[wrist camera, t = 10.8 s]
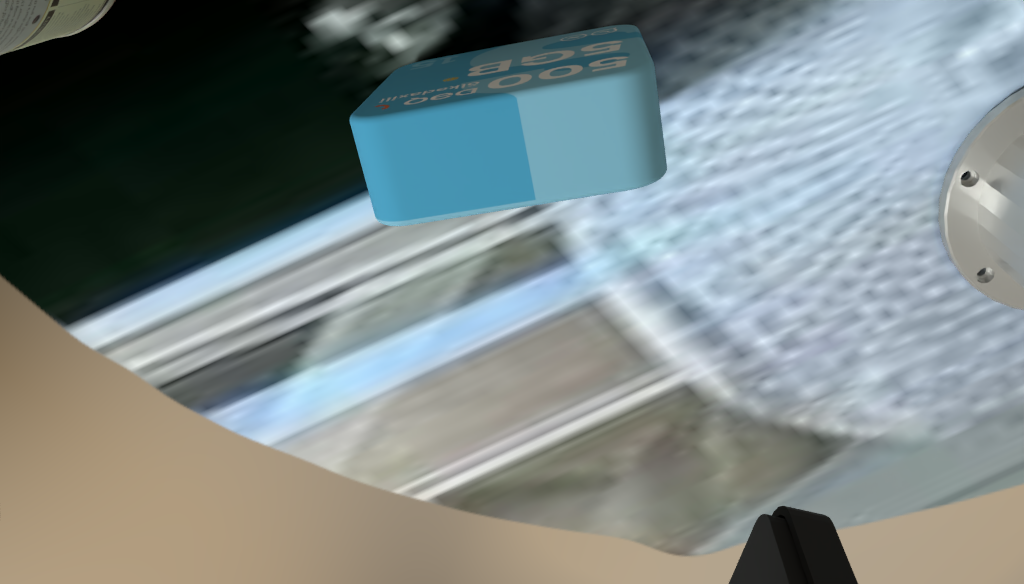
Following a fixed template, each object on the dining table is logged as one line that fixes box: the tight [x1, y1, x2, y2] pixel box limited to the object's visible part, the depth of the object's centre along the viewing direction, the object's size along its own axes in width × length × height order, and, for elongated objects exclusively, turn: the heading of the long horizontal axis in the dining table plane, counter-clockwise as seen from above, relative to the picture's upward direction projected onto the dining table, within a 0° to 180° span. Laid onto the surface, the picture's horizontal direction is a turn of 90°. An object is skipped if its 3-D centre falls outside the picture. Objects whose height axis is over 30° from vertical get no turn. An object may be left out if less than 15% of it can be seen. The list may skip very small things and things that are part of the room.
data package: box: [350, 25, 667, 226], centre depth 38 cm, size 12×4×12 cm, turn 101°
